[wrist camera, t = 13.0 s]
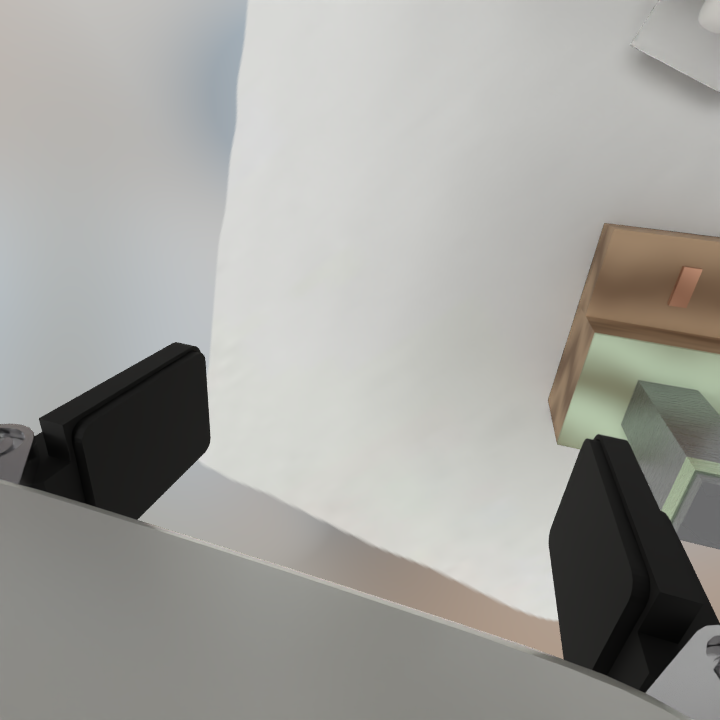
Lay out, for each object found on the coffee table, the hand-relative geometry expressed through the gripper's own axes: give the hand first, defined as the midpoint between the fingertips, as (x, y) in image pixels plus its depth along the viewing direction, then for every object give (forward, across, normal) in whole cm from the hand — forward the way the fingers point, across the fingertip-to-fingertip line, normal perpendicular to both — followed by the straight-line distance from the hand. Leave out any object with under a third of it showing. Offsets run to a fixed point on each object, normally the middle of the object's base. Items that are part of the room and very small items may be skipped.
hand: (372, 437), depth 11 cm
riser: (+33, -17, +6) cm, 38 cm away
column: (+26, -17, +9) cm, 32 cm away
